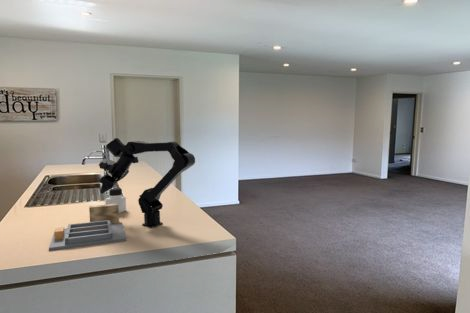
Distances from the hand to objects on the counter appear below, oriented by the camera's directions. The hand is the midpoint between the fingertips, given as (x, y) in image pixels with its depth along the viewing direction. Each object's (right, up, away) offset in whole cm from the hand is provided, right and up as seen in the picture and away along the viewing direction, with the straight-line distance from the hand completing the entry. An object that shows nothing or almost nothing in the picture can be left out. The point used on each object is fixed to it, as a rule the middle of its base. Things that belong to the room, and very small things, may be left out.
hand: (105, 188), depth 154 cm
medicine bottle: (-1, -13, +16) cm, 21 cm away
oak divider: (+1, -15, -3) cm, 15 cm away
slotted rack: (+2, -17, -21) cm, 27 cm away
